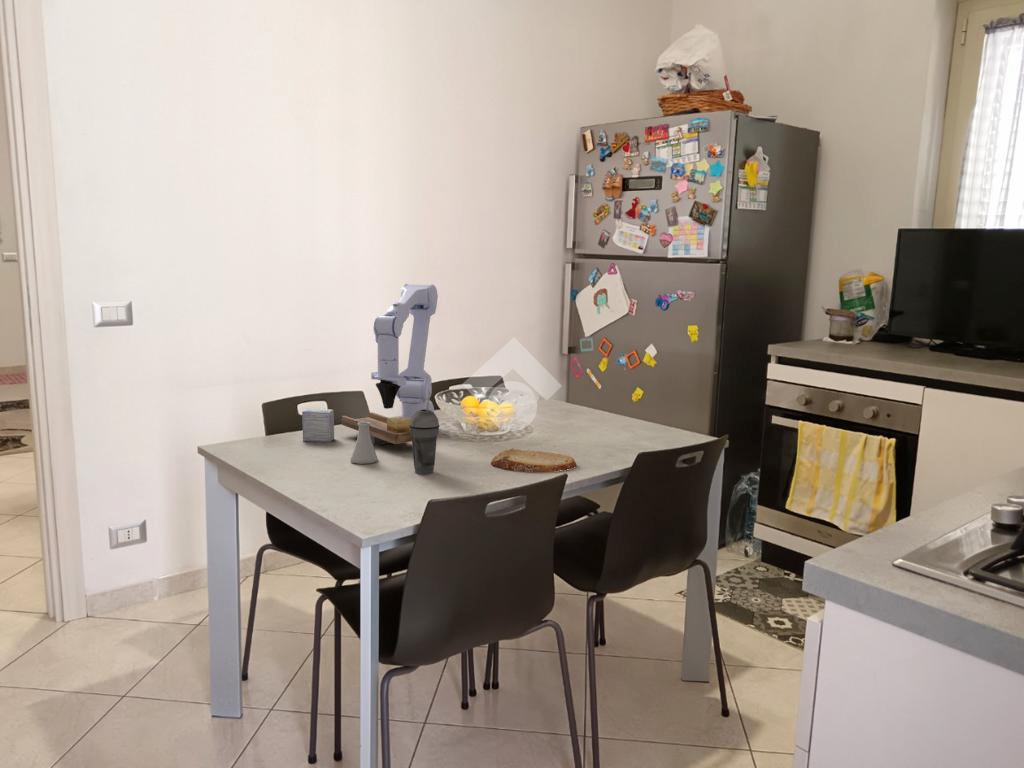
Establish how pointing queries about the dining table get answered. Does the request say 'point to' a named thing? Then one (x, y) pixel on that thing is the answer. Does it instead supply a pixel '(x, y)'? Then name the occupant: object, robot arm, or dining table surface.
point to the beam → (378, 428)
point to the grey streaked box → (318, 425)
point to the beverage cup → (424, 439)
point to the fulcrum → (377, 441)
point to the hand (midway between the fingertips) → (388, 408)
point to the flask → (363, 446)
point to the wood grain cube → (398, 424)
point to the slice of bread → (532, 461)
